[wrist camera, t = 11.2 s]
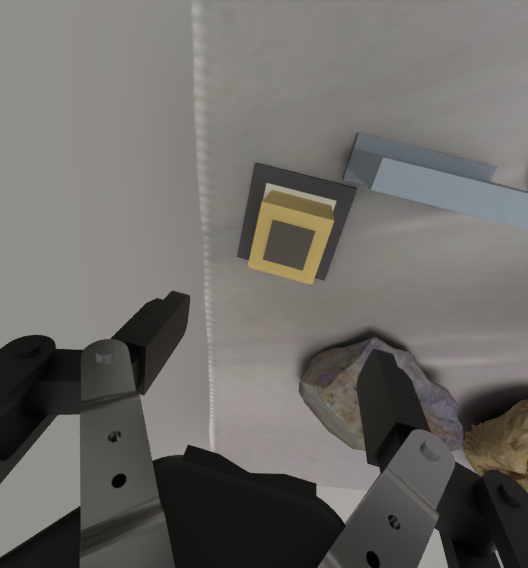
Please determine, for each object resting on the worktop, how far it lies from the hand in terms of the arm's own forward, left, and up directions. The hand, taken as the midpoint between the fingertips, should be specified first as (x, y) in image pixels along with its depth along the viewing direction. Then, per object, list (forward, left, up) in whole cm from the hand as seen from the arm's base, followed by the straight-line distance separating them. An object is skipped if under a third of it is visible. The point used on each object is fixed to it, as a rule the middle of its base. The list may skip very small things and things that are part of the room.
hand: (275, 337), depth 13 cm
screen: (-7, +9, -20) cm, 23 cm away
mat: (+1, -1, -20) cm, 20 cm away
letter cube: (+1, 0, -20) cm, 20 cm away
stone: (+17, +14, -21) cm, 30 cm away
